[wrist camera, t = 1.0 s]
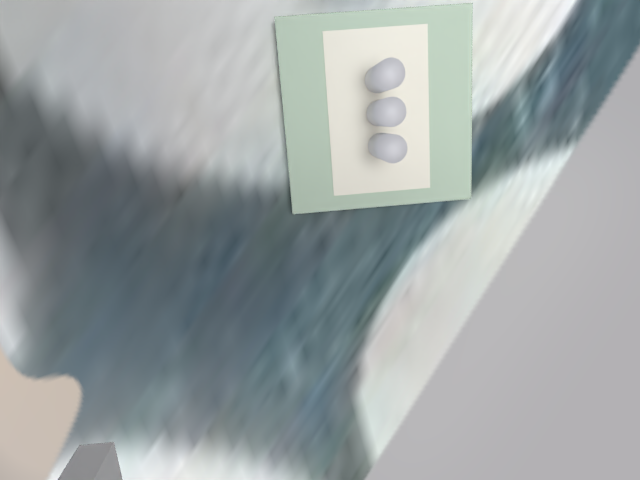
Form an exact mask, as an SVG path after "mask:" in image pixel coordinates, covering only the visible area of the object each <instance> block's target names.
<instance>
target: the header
mask: <svg viewBox="0 0 640 480" xmlns="http://www.w3.org/2000/svg"><path fill="white" fill-rule="evenodd" d="M472 14H473V3H463V4H449V5H435V6H421V7H406V8H392V9H378V10H363V11H349V12H335V13H320V14H306V15H292V16H278V17H274V19H275V30H276V40H277V51H278V62H279V72H280V83H281V94H282V105H283V115H284V126H285V137H286V148H287V158H288V169H289V180H290V190H291V201H292V212H293V214H301V213H313V212H324V211H336V210H347V209H359V208H370V207H382V206H394V205H405V204H417V203H428V202H440V201H451V200H463V199H471V149H472Z"/></svg>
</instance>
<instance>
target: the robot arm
mask: <svg viewBox="0 0 640 480" xmlns="http://www.w3.org/2000/svg"><path fill="white" fill-rule="evenodd" d="M58 480H122V475H121V471H120V467H119V462H118V458H117V453H116V449H115V444H114V442H107V443H97V444H87V445H79V447H78V448H77V450H76V451H75V453H74V455H73V456H72V458H71V459H70V461H69V463H68V464H67V466H66V467H65V469H64V471H63V472H62V474H61V475H60V477H59V478H58Z"/></svg>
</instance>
